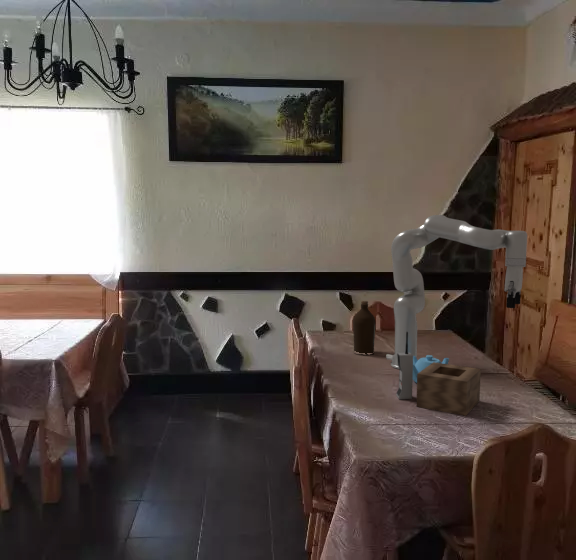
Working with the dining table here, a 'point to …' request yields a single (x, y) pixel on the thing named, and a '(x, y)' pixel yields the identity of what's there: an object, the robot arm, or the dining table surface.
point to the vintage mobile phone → (405, 373)
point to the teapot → (424, 364)
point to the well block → (448, 388)
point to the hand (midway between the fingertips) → (513, 305)
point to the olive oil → (364, 330)
